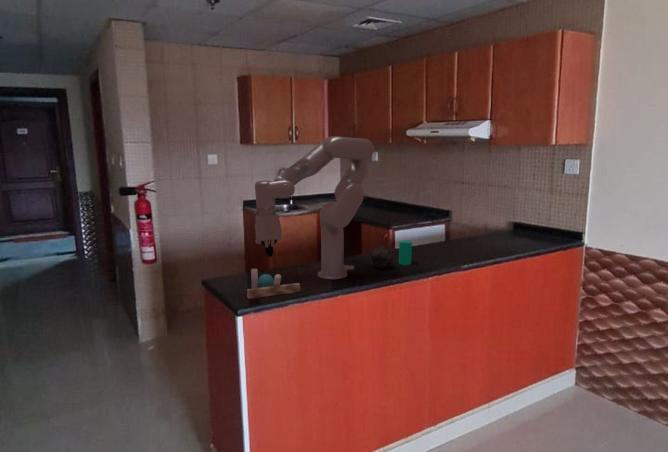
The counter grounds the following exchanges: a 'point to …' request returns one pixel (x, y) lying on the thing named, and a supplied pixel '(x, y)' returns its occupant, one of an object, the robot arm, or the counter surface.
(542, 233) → the counter surface
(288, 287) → the oak rail
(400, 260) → the candle
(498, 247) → the counter surface
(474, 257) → the counter surface
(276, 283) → the cream pin
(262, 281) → the ball
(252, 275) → the grey pin
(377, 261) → the decorative stone
